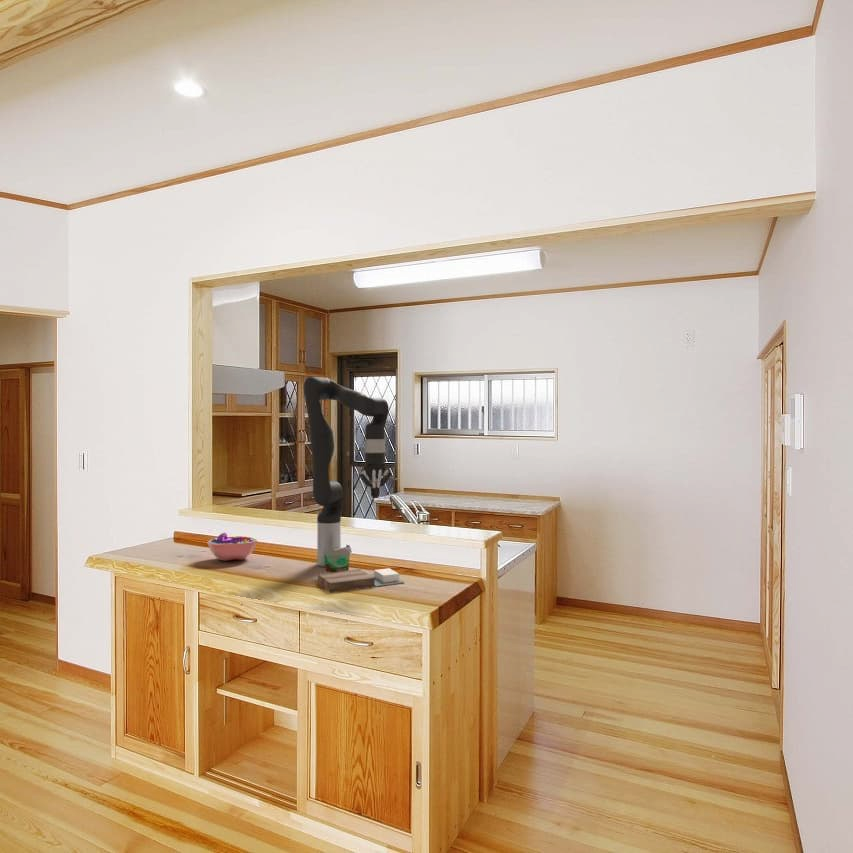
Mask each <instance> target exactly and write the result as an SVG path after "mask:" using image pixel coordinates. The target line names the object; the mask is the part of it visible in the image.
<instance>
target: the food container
mask: <svg viewBox="0 0 853 853" xmlns="http://www.w3.org/2000/svg"><path fill="white" fill-rule="evenodd" d="M351 553H352V547H351V546H350V544H346V546H345V547H341V548H335V549H333V550H325V549H324V551H323V555H324V559H325V567H324V569H325V573H331V572H340V571H348V570H350V569H349V567H350V558H351V557H350V556H351Z"/></svg>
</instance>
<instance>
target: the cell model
mask: <svg viewBox="0 0 853 853" xmlns="http://www.w3.org/2000/svg"><path fill="white" fill-rule="evenodd" d="M206 543H207V545H208V547H209V550H210V552H211V554H212V555H213V556H214V557H215V558H216V559H219V560H220V561H223V562H229V561H235V560H238V561H241V560H244V559H246V558H247V557H249V556H250V555H251V554H252V553H253V552H254V550H255V549H256V545H257V543H258V539H256V538H253V537H250V536H242V535H241V536H228V534H227V533H226V532H222V533H220V534H219V535H218V536H217V538H216V537H215V538H211V539H209V540H208V541H207V542H206Z"/></svg>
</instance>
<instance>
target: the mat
mask: <svg viewBox="0 0 853 853" xmlns="http://www.w3.org/2000/svg"><path fill="white" fill-rule="evenodd" d="M368 574H369V575H371V576H372V577H374V573H368ZM374 578H375V577H374ZM394 584H395V585H401V584H402V585H403V584H405V582H404V581H403V580H401V579H400V578H399V581H392V582H384V583H383V582H382V581H380V580H379V579H377V578H375V586H374V588H378V587H377V586H380V587H386V586H385V585H387V586H393V585H394Z"/></svg>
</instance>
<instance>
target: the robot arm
mask: <svg viewBox="0 0 853 853" xmlns="http://www.w3.org/2000/svg"><path fill="white" fill-rule="evenodd" d="M303 396H304V401H305V406H306V410H307V418H308V425H309V437H310V438H309V439H310V440H309V441H310V448H311V459H312V460H311V461H312V495H313V499H314V502H315V503H316V504H317V505H318V506H321V507H323V508H322V510H321V512H319V513H318V514H317V518H316V521H317V523H316V524H317V526H316V527H317V533H316V534H317V536H316V538H317V542H316V543H317V545H316V546H317V547H316V548H317V549H316V550H317V557H316V558H317V560H316V561H317V566H318V567H322V568H325V559H324V555H323V551H324V549H325V550H333V549H335V548H342V547H341V546H342V544H341V542H342V539H341V538H342V537H341V536H342V535H341V534H342V533H341V531H342V530H341V528H342V526H341V524H342V523H341V521H342V515H343V511H344V510H343V508H344V489H343V487H342V484H341V483H339V482H338V481H336V480H330V472H329V471H330V465H331V462H332V458H333V455H334V453H335V452H334V451H335V439H334V438H335V437H334V431H333V429H332V426H331V425H330V423H329V422H328V420H327V418H326V417H325V415H324V414H323V411H322V406H321V405H322V404H321V401H325V400H330V401H331V400H333V401H338V402H339V403H340V404H341V405H343V407H346V408H347V409H350V410H354V411H356V412H358V413H359V414H361V415H362V416H366V417H372V421H371V422H369V423H367V424H366V425H365V442H364V468H363V471H361V472H359V473H358V474H357V475H358V477H359V478H360V480H361V481H362V482H363V484H364V485H365V486H366V487H369V488H370V496H371V497H372V498H373V499H378V498H379V497H380V488H381V487H383V486H385V484H386V483H387V481H388V480H389V479H390V477H392V472H390V471H389V470H387V467H386V442H385V428H386V425H387V424H386V423H387V419H388V416H389V409H390V407H389V403H388V402H387V400H386V399H385V398H383V397H370V396H367V394H364V393H362V392H360V391H357V390H354V389H351V388H347V387H345V386H342V385H340V384H338V383H337V382H335V381H334V380H332V379H330V378H329V377H323V376H308V377H307V378H305V380H304V382H303ZM367 477H368V478H367Z"/></svg>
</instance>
